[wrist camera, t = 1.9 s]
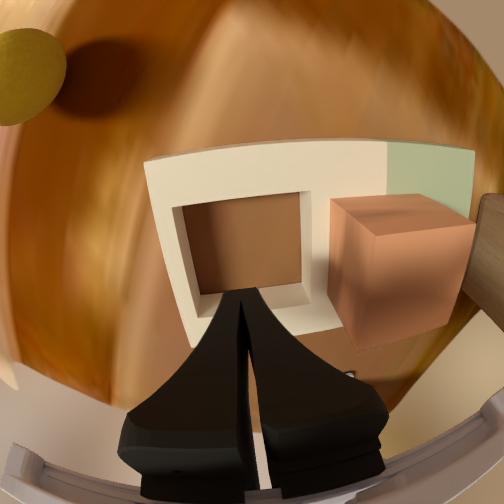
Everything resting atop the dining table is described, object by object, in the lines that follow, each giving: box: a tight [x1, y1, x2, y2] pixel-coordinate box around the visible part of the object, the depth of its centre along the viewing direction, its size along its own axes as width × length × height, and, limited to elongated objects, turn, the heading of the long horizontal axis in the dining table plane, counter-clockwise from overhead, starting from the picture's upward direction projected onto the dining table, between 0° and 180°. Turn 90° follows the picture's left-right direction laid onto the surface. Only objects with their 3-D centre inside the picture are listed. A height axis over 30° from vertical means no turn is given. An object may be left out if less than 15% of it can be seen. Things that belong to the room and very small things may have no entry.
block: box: [327, 193, 476, 352], centre depth 13 cm, size 6×6×5 cm
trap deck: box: [143, 138, 475, 348], centre depth 16 cm, size 12×20×2 cm, turn 96°
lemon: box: [0, 28, 67, 126], centre depth 7 cm, size 6×6×8 cm
